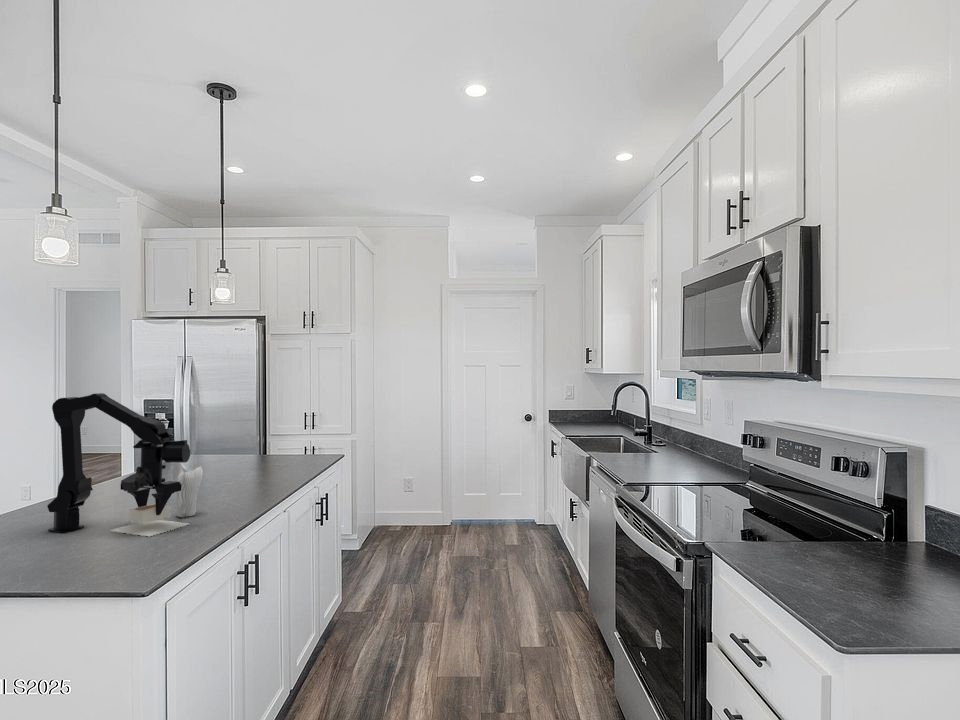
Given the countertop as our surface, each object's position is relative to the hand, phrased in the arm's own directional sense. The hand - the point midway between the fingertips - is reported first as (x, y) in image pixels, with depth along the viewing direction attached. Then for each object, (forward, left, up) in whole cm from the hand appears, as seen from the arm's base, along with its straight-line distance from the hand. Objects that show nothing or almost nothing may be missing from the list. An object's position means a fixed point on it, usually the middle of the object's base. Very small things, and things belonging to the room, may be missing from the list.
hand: (150, 514), depth 170 cm
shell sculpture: (-2, +15, -4) cm, 16 cm away
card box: (0, 0, -2) cm, 2 cm away
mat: (0, 0, -4) cm, 4 cm away
